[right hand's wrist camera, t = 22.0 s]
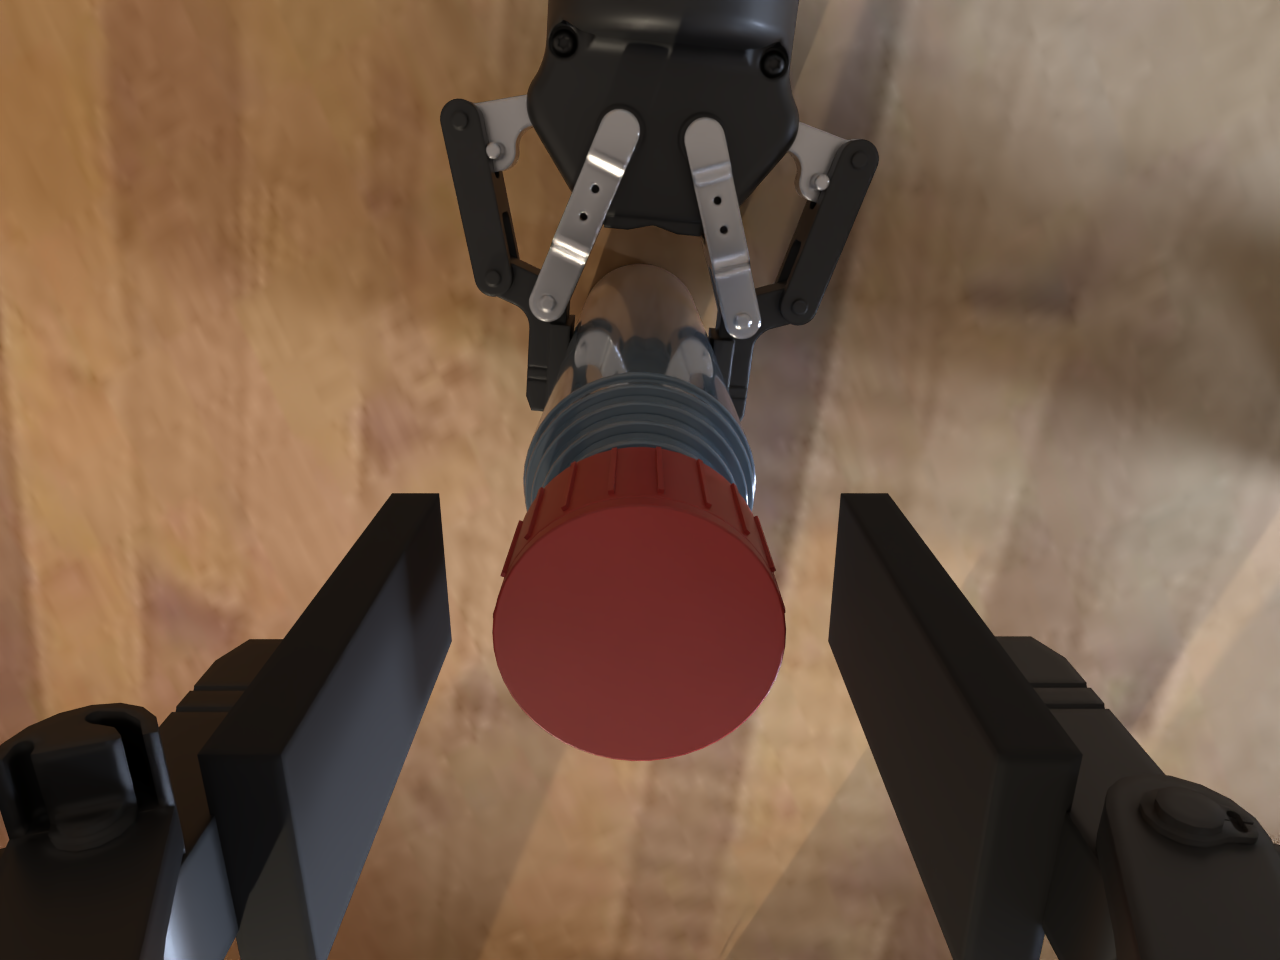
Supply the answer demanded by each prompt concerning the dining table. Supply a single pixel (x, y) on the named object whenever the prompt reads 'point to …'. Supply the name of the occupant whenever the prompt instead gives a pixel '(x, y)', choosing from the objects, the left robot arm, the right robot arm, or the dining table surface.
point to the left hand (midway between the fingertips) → (634, 427)
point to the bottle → (639, 384)
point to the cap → (639, 607)
